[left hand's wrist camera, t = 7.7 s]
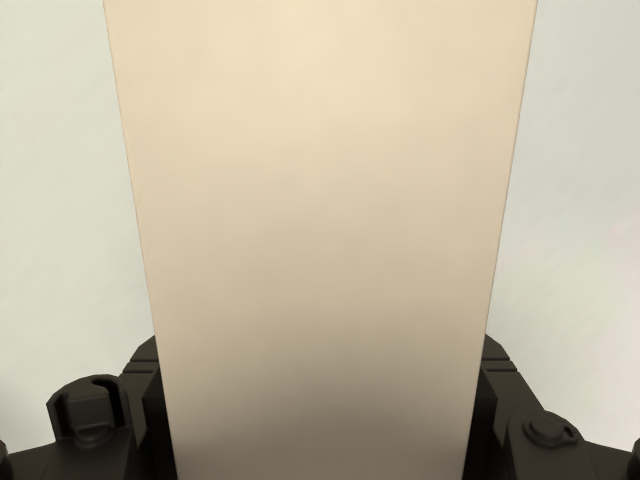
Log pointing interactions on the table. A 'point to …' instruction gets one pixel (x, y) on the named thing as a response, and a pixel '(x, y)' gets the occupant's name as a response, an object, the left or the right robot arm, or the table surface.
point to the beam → (320, 223)
